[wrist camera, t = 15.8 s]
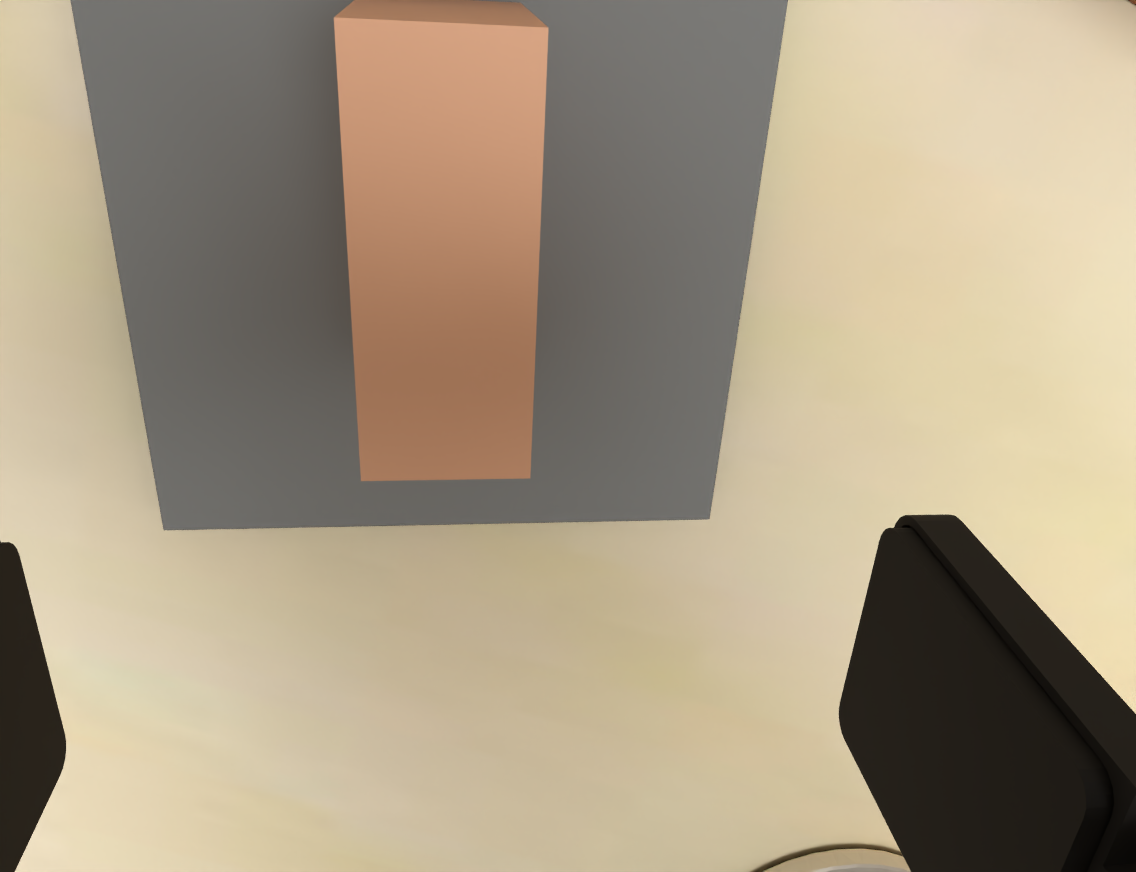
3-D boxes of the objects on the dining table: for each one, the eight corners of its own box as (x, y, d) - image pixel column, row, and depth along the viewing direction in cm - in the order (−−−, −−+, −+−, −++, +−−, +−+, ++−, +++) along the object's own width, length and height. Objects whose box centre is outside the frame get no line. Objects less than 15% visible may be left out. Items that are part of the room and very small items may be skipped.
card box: (520, 2, 24) (548, 28, 18) (510, 361, 29) (530, 478, 23) (361, -6, 23) (333, 17, 17) (377, 361, 28) (360, 481, 22)
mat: (702, 503, 33) (709, 519, 32) (171, 513, 31) (163, 530, 30) (812, -258, 23) (827, -265, 22) (28, -332, 21) (10, -344, 20)
